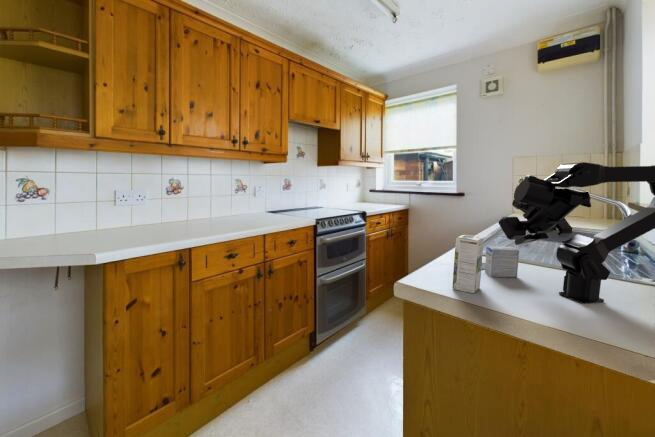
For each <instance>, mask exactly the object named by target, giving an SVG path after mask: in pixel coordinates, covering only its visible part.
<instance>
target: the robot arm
mask: <svg viewBox="0 0 655 437" xmlns="http://www.w3.org/2000/svg"><path fill="white" fill-rule="evenodd" d="M524 176H525V177H524V179H523V180H522V181H521V182H520V183H519V184H518V185H517V187H515V190H514V191H513V192H514V194H513V201H512V202H511V205H512V206H513V207H514V208H515V209H516V210H520V211H521V212H522V213H523V214H522V217H523V218H524V219H526V220H520V218H519V217H518V216H512V215H511V216H502V217H501V218H500V220H498V221H497V223H498V225H499V227H500V228H501V230H502V232H503V233H504V235H505V237H506V238H507V239H509V241H513V240H514V244H515V246H520V245H524V244H529V243H533V242H537V241H538V242H539V241H542V240H547V239H549V236H548V234H549V233H553V232H556V231H558V233H557V236H558V238H567V237H568V236H570V235H572V233H573V227H572V226H571V225H570V223H569V222H568V221H567V219H566V217H567V216H569V214H571V213H572V212H573V211H575V209H577V208H578V207H579V206H581V207H586V208H592V203H591V196H590V193H589V191H578V190H574V189H570V188H585V187H591V186H592V187H593V186H597V185H601V184H605V183H626V182H627V183H634V182H635V183H636V182H637V183H639V182H642V183H643V182H644V183H645V182H646V183H647V184H648V185H649V189H650V193H651V194H652V195H653V196H654V197H653V198H652V199H651V201H650V203H649V205H648V206H647V207H645V208H644V209H641V210H639V211H637V212H635V213H634V214H632V215H630V216H628V217H626V218H624V219H623V220H621V221H618V222H617V223H615V224H613V225H611V226H608V227H607V228H606V229H603V230H602V231H601V232H600V231H599V232H597V233H596V234H595V235H592V236H590V237H589V236H585V235H582V234H575V235H574V236H572V237H570V238H569V239H567V240H564V241H561V243H562V244H561V245H559V246H558V247H557V249H556V254H555V255H556V259H557V262H559V263H560V266H561V269H562V270H565V275H564V276H563V286H562V291H559V292H558V295H561V296H562V297H566V298H567V299H570V300H573V301H575V302H578V303H580V304H584V305H585V304H593V303H595V304H596V303H602V302H605V299H604V298H600V293H601V284H602V281H607V279H608V277H610V276H609V275H610V274H611V271H610V270H609V269H608V268H607V267H606V266H605V265H604V264H603V263H604V262H605V261H606V259H607V257H608V255H609V254H610V253H611V252H613V251H614V250H616V249H618V248H620V247H622V246H624V245H626V244H628V243H630V242H631V241H633V240H636V239H637V238H639V237H641V236H643V235H645V234H647V233H649V232H651V231H653V230H655V165H644V166H643V165H641V166H640V165H636V166H635V165H634V166H607V165H604V164H599V163H593V162H582V161H581V162H570V163H562V164H560V165H559V166H558V167H557V168H556V170H555V172H553V173H552V174H551V175H549V176H548V177H547V178H544V179H542V178H538V177H537V176H534V175H524Z"/></svg>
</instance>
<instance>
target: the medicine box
mask: <svg viewBox="0 0 655 437" xmlns="http://www.w3.org/2000/svg"><path fill="white" fill-rule="evenodd" d="M519 259H520V249H518V248H515V247H513V246H486V248H485V261H484V263H485V270H484V272H485V273H484V274H486V275H487V276H489V277H492V278H494V277H495V278H496V277H497V278H501V277H502V278H518V270H519Z"/></svg>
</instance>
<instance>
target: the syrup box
mask: <svg viewBox="0 0 655 437" xmlns="http://www.w3.org/2000/svg"><path fill="white" fill-rule="evenodd" d="M484 240H485V238H484V237H483V236H478V235H473V234H462V235H460V236H459V235H458V236H457V237H456V238H455V246H454V259H453V273H452V275H453V276H452V289H453V290H455V291H461V292H464V293H471V294H475V293H476V292H477V291H478V290H479V289H480V287H481V277H482V276H481V275H482V270H481V266H482V263H483V251H484Z"/></svg>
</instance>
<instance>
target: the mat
mask: <svg viewBox="0 0 655 437" xmlns="http://www.w3.org/2000/svg"><path fill="white" fill-rule="evenodd" d="M482 270H483V271H485V262H482V266H481V271H482Z"/></svg>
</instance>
